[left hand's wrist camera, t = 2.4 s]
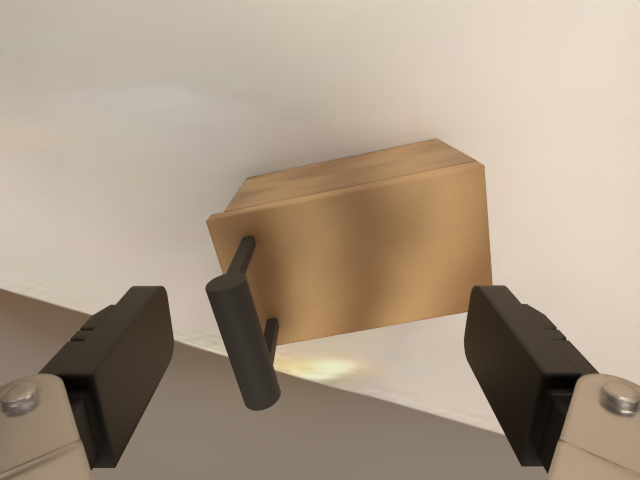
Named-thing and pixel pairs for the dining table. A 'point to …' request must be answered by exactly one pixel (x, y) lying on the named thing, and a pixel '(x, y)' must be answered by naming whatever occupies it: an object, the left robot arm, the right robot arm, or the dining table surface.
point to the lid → (345, 265)
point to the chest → (347, 173)
